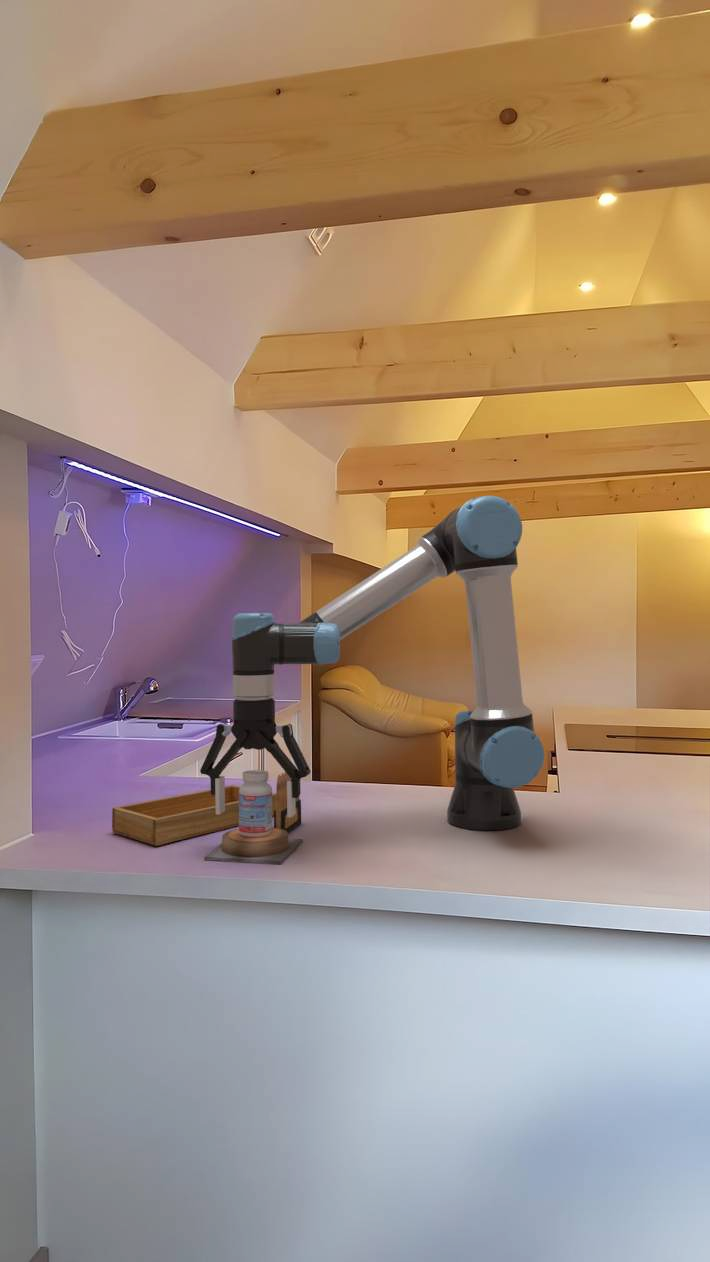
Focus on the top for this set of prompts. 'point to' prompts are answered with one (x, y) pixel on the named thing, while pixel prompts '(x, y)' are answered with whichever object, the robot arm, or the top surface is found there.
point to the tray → (177, 816)
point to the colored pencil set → (285, 806)
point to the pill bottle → (255, 804)
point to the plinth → (255, 847)
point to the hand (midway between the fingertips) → (255, 814)
